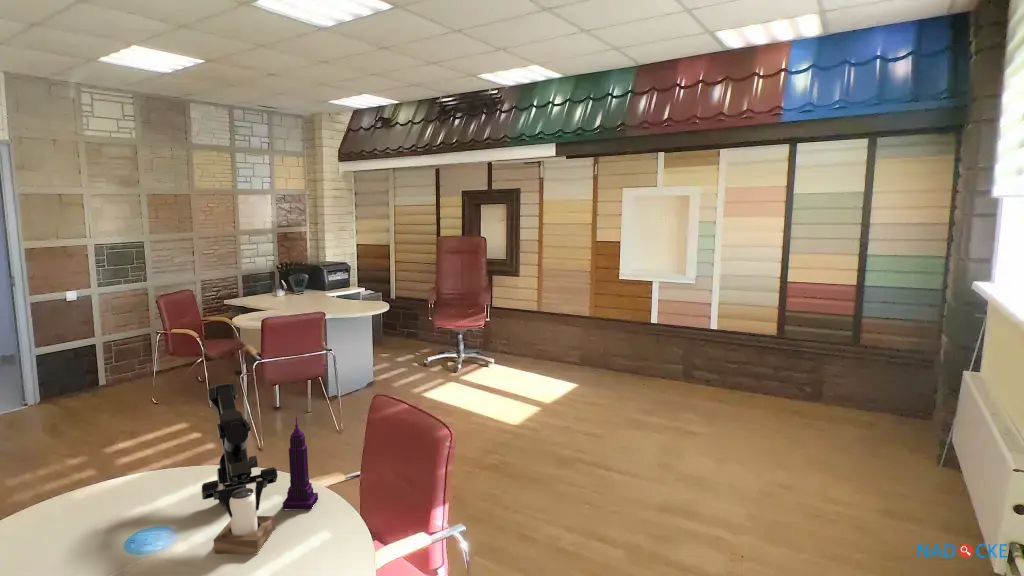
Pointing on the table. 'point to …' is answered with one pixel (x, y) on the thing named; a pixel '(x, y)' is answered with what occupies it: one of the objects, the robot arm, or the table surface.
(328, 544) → the table surface
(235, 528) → the can
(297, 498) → the building model
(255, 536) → the socket block
